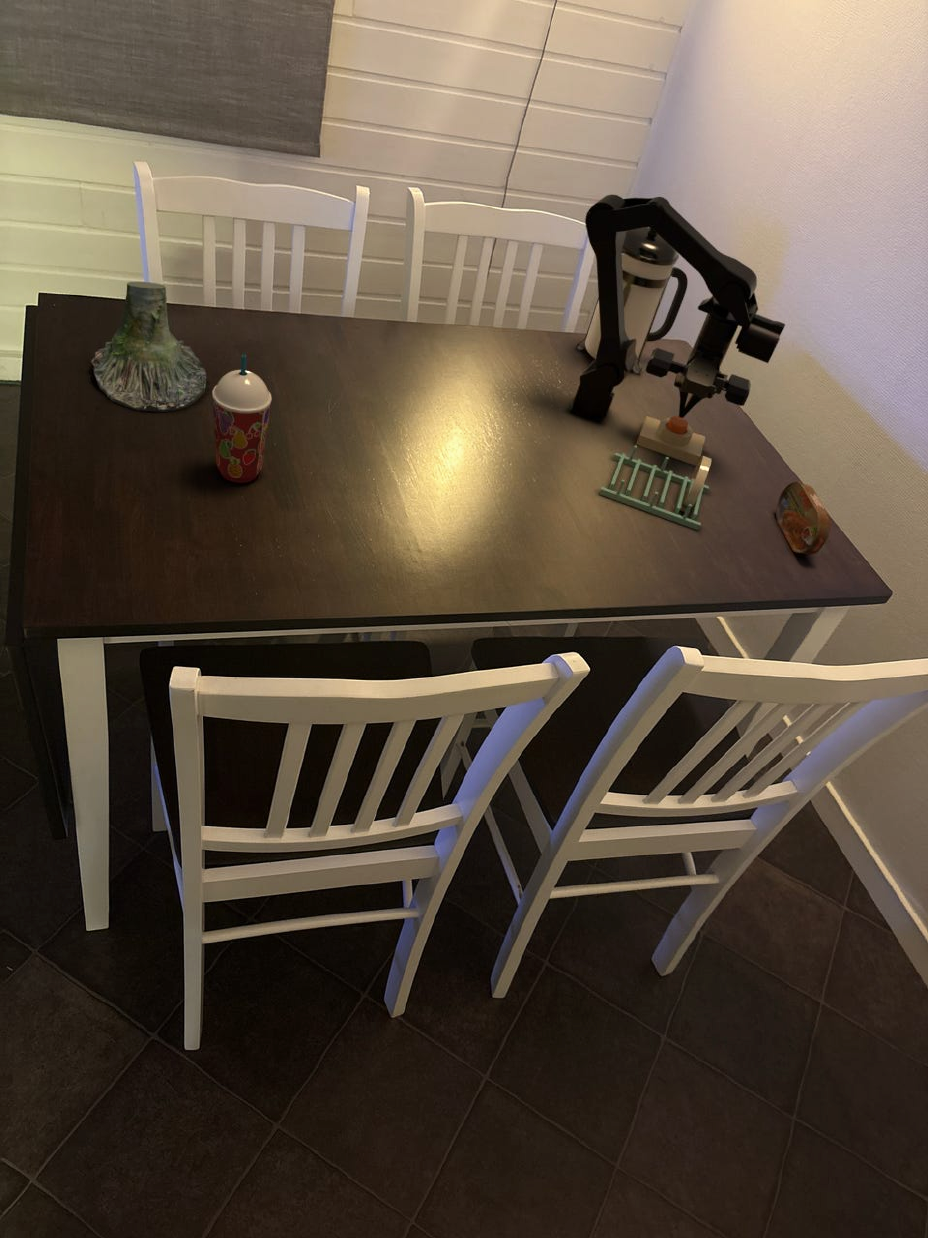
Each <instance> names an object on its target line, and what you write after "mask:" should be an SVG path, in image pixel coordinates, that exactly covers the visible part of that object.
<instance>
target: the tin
mask: <svg viewBox="0 0 928 1238" xmlns="http://www.w3.org/2000/svg"><path fill="white" fill-rule="evenodd" d="M775 511H776V512H775V515H776V521H777V523H778V526H779V527H780V529H781V532H782V533H783V536H784V537H785V539H786V542H787V543H788V545H789V547H790V549H791V550H792V552H794V553H796V554H803V555H814V554H817V553H818V552H819V551H820V550H821V549H822V548H823V546H824V545H825V544H826V542H827V540H828V538H829V536H830V532H831V518H830V515H829V513H828V511H827V509H826V508H825V507H824V504H823V502H822V501H821V500H820V497H819V496H818V494H817V493H816V491H815V489H814V488H813V487H812V486H811V485H808V484H804V483H801V482H799V481H793V482H791V483H789V484H787V485H786V486H785V487H784V489H783V490H782V492H781V494H780V496H779V498H778V501H777V505H776V510H775Z"/></svg>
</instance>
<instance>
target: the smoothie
mask: <svg viewBox="0 0 928 1238" xmlns="http://www.w3.org/2000/svg"><path fill="white" fill-rule="evenodd" d="M240 357H241V359H240V361H241V362H240V369H235V370H231V371H228V372H227V373H226V374H224V375H223V376H221V378H220V379H219V380H218V382H217V384H216V385H215V386H214V387H213V389H212V391H211V393H212V394H211V395H212V408H213V409H212V410H213V424H214V426H213V427H214V443H215V461H216V468H217V470H219V471H220V474H221V476H222V477H223V478H224V479H226V480H227V481H230V482H232V483H237V484H239V483H240V484H244V483H248V482H252V481H253V480H255V479H256V478H257V477H258V475H259V474H260V473H261V471H262V468H263V465H264V456H265V448H266V442H267V435H268V433H267V432H268V426H269V421H270V420H269V419H270V412H271V406H272V405H271V403H272V402H273V401H272V400H273V397H272V394H271V392H270V391H269V389H268V388H267V384H265V382H264V381H263V379H262V378H261V377H260V376H259V375H258V374H256V373H254V372H252V371H250V370H247V368H246V367H247V355H246V354H241V356H240Z"/></svg>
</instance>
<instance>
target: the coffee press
mask: <svg viewBox="0 0 928 1238" xmlns="http://www.w3.org/2000/svg"><path fill="white" fill-rule="evenodd" d="M679 257H680V254H679V253H678V252H676V251H675V250H674V249H673V248H672V247H671V246H670V245H669V244H668V243H667V242H666V241H665V240H664V239H663V238H662V237H661V236H659V235H658V234H657V233H656V232H655V231H654V230H653V229H652V228H651V227H644V228H638V229H633V230H628V231H626V235H625V240H624V244H623V248H622V272H623V296H624V320H625V332H626V334H627V336H628V338H629V340H631V339H636V349H635V351H636V356H637V358H638V359H637V360H636V362H635V363H634V364H636V363H637V366H638V369H639V370H637V369H636V366H635V365H634V366H633V368H632V371H633V373H634V374H636V375H638V374H640V373H641V372H642V370H643V366H642V363H641V358H642V354H643V353H644V349H645V347H646V345H647V343H648V342H649V343H652V342H657V341H659V340H661V339H663V338H664V337H665V336H666V335H668V333H669V332H670V331H671V329H672V327H673V325H674V323H675V321H676V319H677V317H678V313H679V312H680V309H681V306H682V304H683V301H684V298H685V295H686V293H687V290H688V282H689V280H688V276H687V274H686V273H685V271H683V270H682V269H681V268H679V267H676V266H675V264H676V263H678V260H679ZM671 277H672V278H675V279H676V280H677V287H676V291H675V293H674V296H673V298H672V301H671V304H670V307H669V309H668V312H667V314H666V317H665V320H664V322H663V324H662V325H661V327H660V328H659V329H658V330H655V331H654V332H651V330H652V328H653V325H654V322H655V320H656V317H657V314H658V312H659V309H660V307H661V303H662V301H663V298H664V297H665V293H666V290H667V287H668V285H669V282H670V279H671ZM600 338H601V331H600V313H599V296H598V298H597V300H596V303H595V306H594V309H593V312H592V315H591V319H590V321H589V325H588V328H587V331H586V333H585V337H584V338H583V339H582V340H580V341H579V342H578V343H577V344H576V349H577V350H578V351H583V350H586V352H587V353H588V354H589V355H590V356H591V357H592V358H593V359H594V360H595V359H596V355H597V351H598V346H599V342H600ZM583 342H584V345H585V346H583V347H582V346H581V345H580V344H581V343H583Z"/></svg>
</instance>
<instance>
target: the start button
mask: <svg viewBox="0 0 928 1238" xmlns="http://www.w3.org/2000/svg"><path fill="white" fill-rule="evenodd" d="M669 418H670V420H669V422H668V425H667V428H668V429H669V430H670V431H672V432H674V433H677V434H684V433H685V431H686V429H687V427H688V425H689V422H688V421H687V420H686V419H685V418H680V417H679V416H671V417H669Z"/></svg>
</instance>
